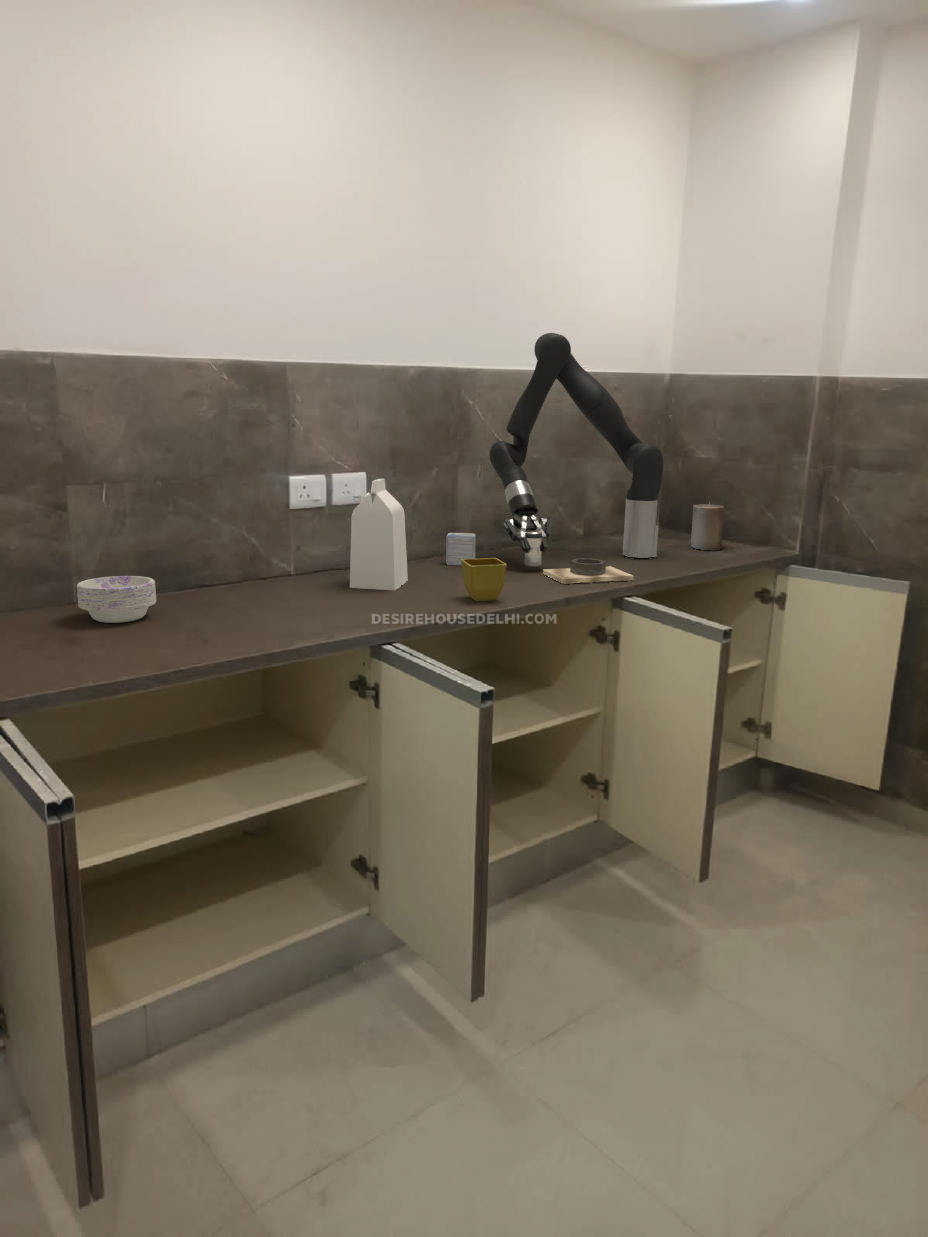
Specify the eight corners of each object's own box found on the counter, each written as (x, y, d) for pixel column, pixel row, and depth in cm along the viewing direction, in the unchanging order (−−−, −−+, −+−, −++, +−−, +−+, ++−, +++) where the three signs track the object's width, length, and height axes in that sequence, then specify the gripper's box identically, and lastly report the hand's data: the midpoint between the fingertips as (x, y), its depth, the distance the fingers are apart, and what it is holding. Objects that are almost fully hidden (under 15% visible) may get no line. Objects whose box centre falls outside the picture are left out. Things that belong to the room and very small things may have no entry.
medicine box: (475, 563, 251) (475, 533, 249) (473, 566, 247) (474, 535, 244) (447, 562, 252) (448, 532, 250) (445, 565, 247) (446, 534, 245)
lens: (537, 562, 244) (538, 530, 241) (543, 565, 239) (544, 532, 237) (521, 563, 242) (522, 530, 240) (528, 566, 238) (528, 533, 236)
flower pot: (469, 604, 202) (470, 565, 200) (459, 596, 210) (460, 558, 208) (506, 602, 204) (507, 564, 202) (495, 594, 212) (496, 557, 210)
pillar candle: (725, 548, 284) (728, 501, 281) (716, 552, 276) (719, 504, 272) (695, 545, 289) (698, 499, 286) (685, 549, 281) (689, 502, 278)
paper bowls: (132, 606, 195) (130, 570, 193) (171, 617, 185) (169, 580, 183) (65, 618, 183) (61, 581, 181) (103, 631, 174) (100, 592, 172)
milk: (394, 590, 215) (394, 483, 208) (349, 587, 217) (348, 481, 210) (407, 580, 226) (407, 478, 220) (364, 578, 228) (363, 476, 222)
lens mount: (610, 571, 242) (611, 555, 241) (633, 581, 230) (634, 564, 229) (542, 574, 236) (543, 558, 235) (562, 584, 224) (563, 567, 223)
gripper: (500, 493, 241) (514, 544, 233) (548, 491, 245) (564, 541, 237) (493, 510, 247) (507, 560, 239) (540, 508, 251) (556, 557, 243)
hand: (535, 550), depth 238 cm, fingers closed on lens, 4 cm apart
